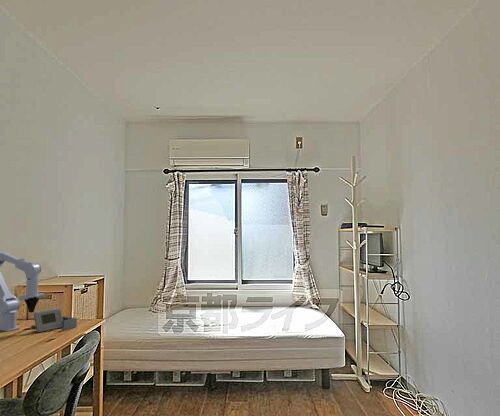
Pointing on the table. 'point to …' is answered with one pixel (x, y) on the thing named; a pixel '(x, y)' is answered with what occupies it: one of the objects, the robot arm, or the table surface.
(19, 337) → the table surface
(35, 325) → the walnut slat
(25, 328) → the table surface
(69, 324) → the end cap
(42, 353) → the table surface
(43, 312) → the digital clock
